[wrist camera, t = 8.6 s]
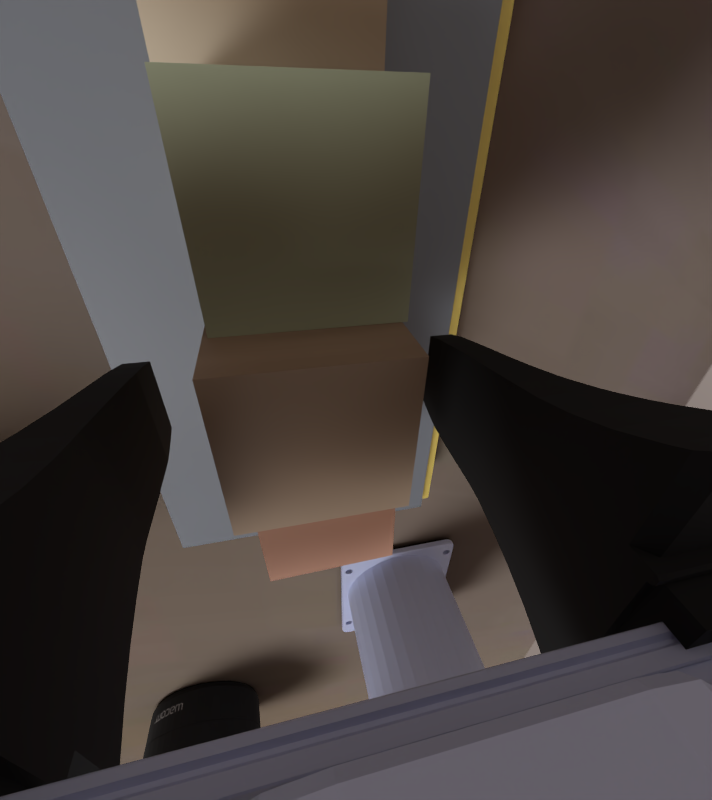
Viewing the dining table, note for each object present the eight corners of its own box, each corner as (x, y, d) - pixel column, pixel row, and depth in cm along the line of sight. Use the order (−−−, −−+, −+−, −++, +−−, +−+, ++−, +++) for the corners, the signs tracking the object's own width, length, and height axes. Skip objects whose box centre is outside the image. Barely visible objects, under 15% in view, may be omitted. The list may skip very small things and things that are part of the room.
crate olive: (363, 266, 11) (407, 321, 8) (220, 274, 11) (207, 338, 7) (367, 91, 9) (430, 72, 6) (185, 86, 8) (143, 61, 5)
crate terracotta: (364, 470, 16) (392, 555, 13) (266, 487, 15) (270, 581, 12) (363, 390, 14) (397, 469, 11) (248, 405, 13) (247, 495, 10)
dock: (415, 471, 23) (431, 504, 21) (189, 507, 21) (183, 548, 19) (497, -121, 10) (557, -181, 8) (-59, -202, 8) (-162, -311, 6)
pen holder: (261, 668, 33) (265, 842, 25) (263, 711, 38) (267, 867, 30) (138, 691, 31) (98, 892, 23) (158, 734, 36) (131, 909, 28)
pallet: (358, 487, 19) (404, 639, 13) (253, 504, 18) (254, 675, 12) (371, -76, 9) (596, -446, 3) (126, -104, 8) (-202, -715, 2)
